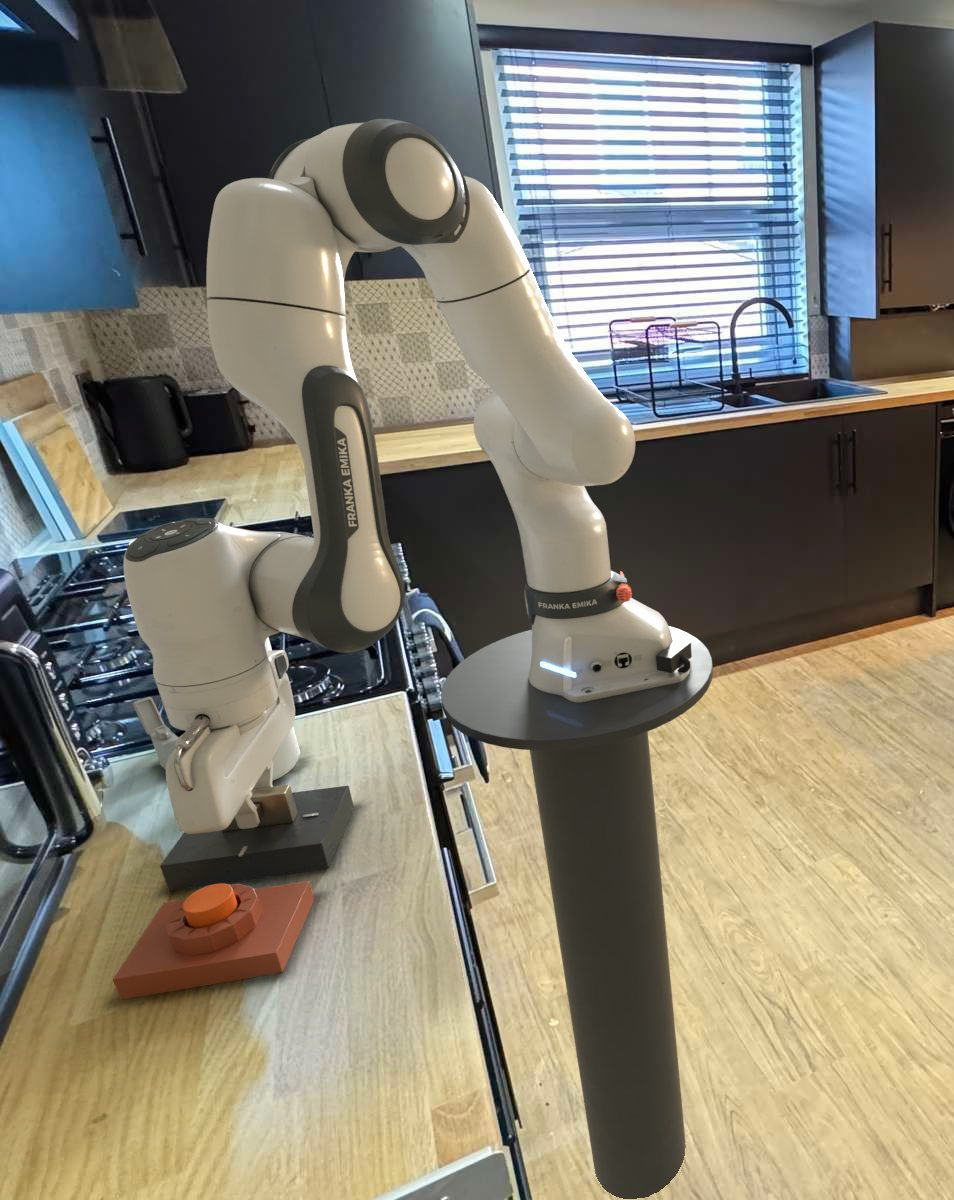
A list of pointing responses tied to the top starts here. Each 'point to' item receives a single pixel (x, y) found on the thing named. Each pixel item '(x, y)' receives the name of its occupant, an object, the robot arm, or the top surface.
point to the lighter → (156, 729)
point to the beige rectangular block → (272, 806)
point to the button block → (217, 942)
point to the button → (210, 905)
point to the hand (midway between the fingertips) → (258, 813)
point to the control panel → (263, 844)
